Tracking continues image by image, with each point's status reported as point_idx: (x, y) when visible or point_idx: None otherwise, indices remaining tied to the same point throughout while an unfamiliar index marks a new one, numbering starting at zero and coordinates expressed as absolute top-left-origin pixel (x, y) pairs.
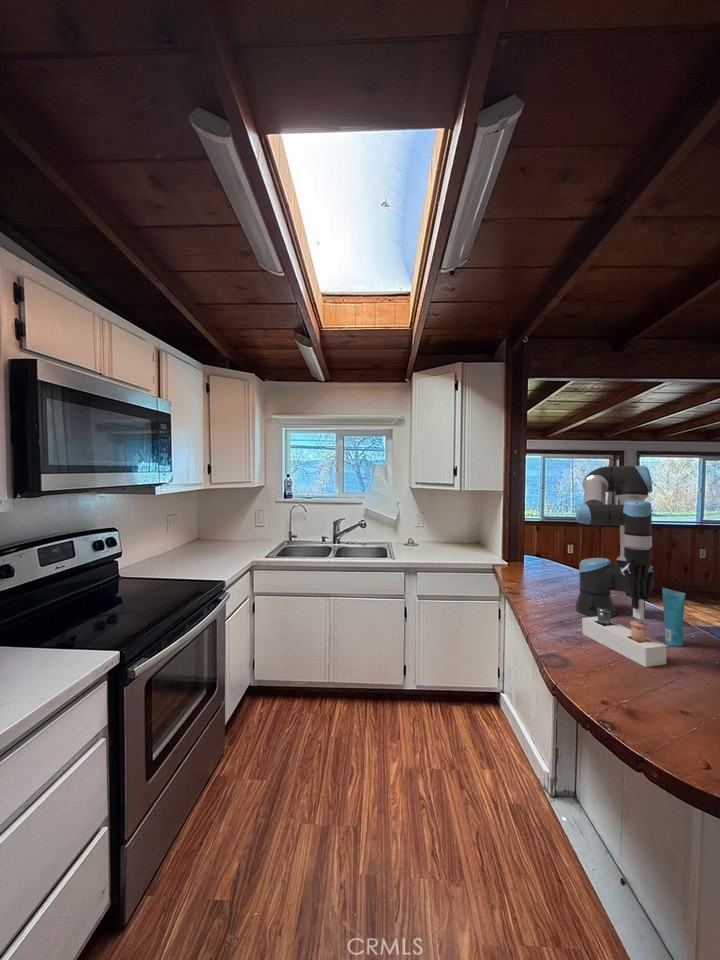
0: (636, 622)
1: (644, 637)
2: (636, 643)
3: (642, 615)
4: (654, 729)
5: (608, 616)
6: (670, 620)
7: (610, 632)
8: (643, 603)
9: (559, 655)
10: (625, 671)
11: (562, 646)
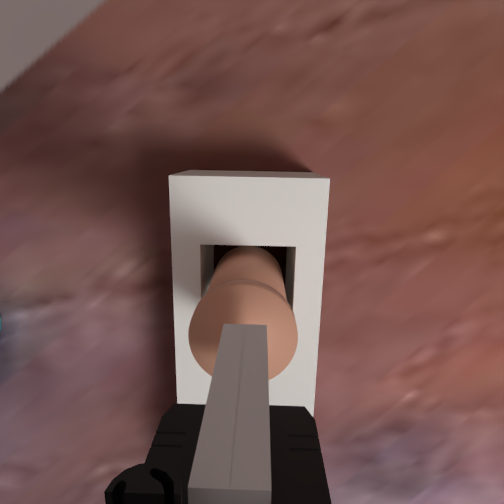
0: None
1: (244, 262)
2: (317, 247)
3: (240, 342)
4: None
5: None
6: None
7: (312, 404)
8: (207, 436)
9: None
10: (441, 165)
11: (490, 423)
